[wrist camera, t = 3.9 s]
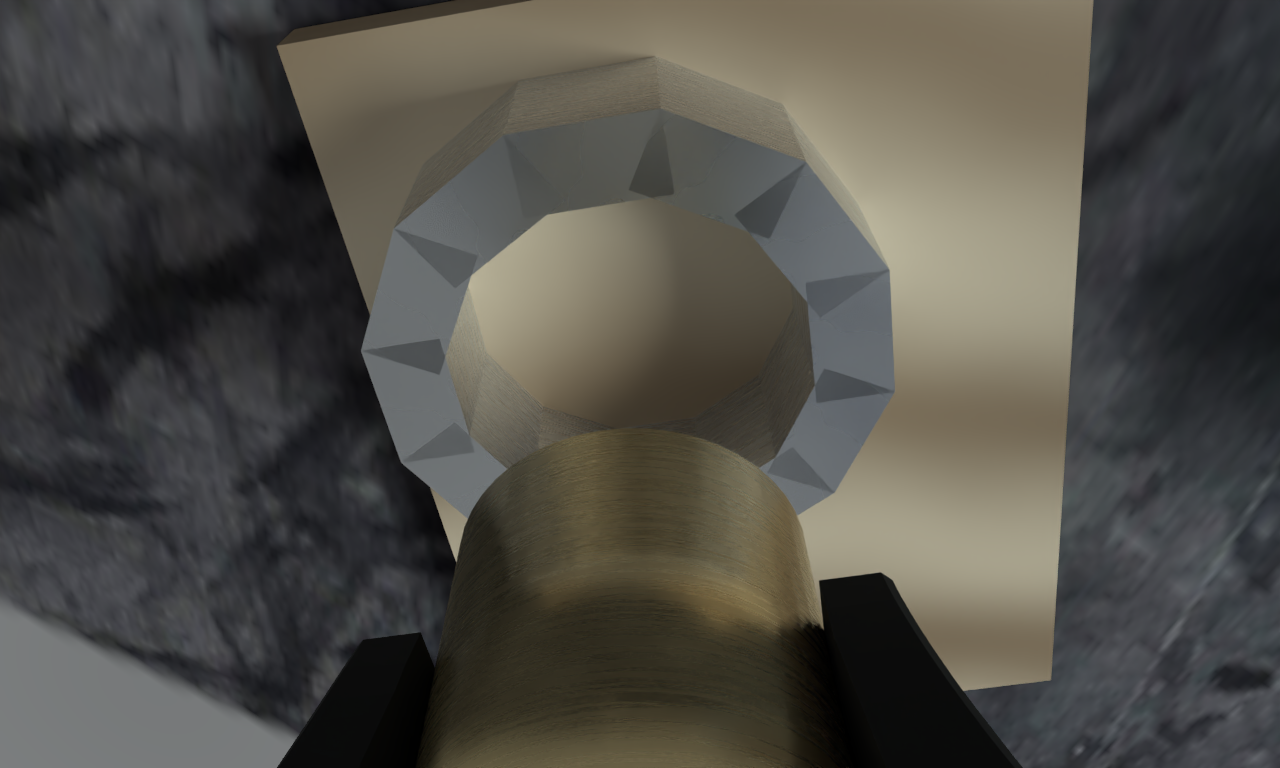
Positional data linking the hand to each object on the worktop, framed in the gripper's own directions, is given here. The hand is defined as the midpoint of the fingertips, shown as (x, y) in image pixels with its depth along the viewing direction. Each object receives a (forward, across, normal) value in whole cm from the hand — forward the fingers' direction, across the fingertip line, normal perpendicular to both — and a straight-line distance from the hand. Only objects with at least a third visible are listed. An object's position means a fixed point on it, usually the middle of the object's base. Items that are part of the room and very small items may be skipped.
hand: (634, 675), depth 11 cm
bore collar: (+9, 0, 0) cm, 9 cm away
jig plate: (+9, -2, +3) cm, 10 cm away
